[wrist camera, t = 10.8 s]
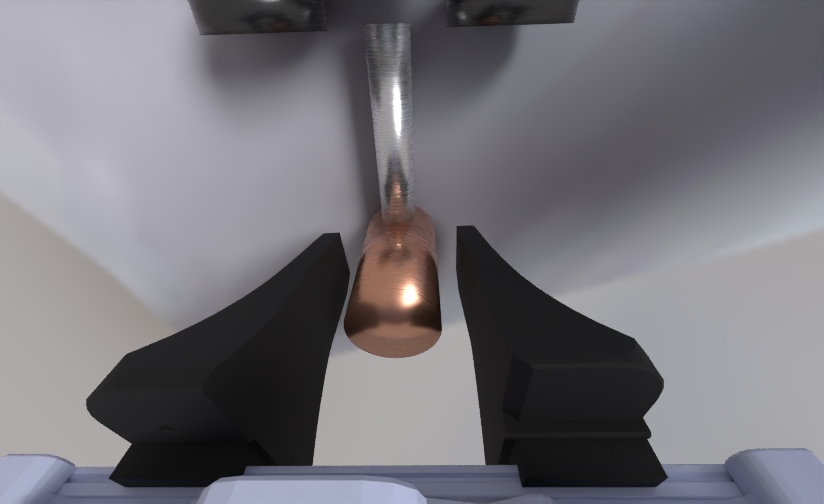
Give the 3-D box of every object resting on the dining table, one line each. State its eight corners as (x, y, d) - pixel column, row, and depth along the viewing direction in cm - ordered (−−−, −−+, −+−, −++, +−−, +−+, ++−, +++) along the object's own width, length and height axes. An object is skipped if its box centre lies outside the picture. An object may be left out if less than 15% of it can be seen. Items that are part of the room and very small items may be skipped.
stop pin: (439, 22, 8) (458, 18, 4) (434, 258, 13) (440, 358, 9) (339, 25, 8) (268, 25, 4) (371, 259, 14) (351, 357, 10)
